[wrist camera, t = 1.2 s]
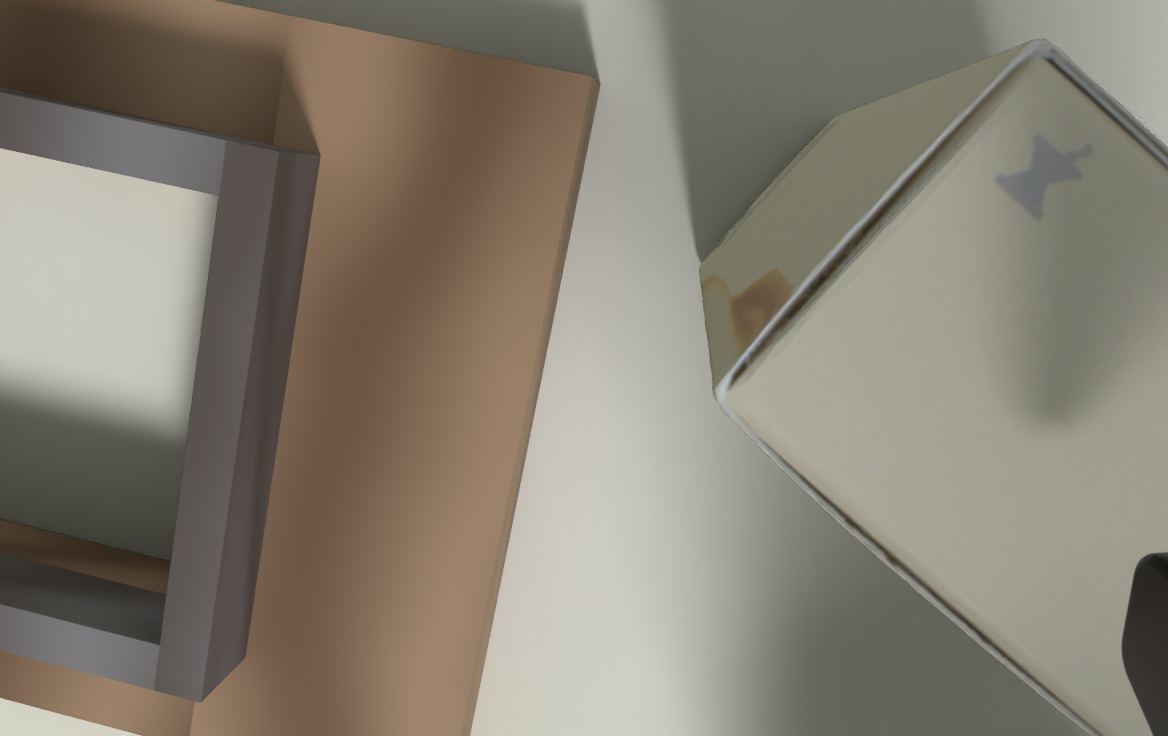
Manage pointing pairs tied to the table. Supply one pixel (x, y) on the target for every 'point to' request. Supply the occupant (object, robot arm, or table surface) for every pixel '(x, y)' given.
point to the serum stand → (306, 365)
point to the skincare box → (971, 355)
